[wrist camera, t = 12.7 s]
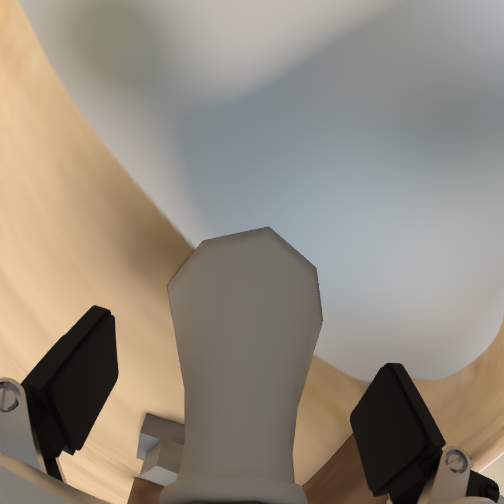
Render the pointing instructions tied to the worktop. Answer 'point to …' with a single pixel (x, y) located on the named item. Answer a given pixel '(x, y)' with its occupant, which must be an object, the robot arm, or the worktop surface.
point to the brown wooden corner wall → (316, 489)
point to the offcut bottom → (158, 433)
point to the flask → (242, 367)
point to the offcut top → (162, 462)
